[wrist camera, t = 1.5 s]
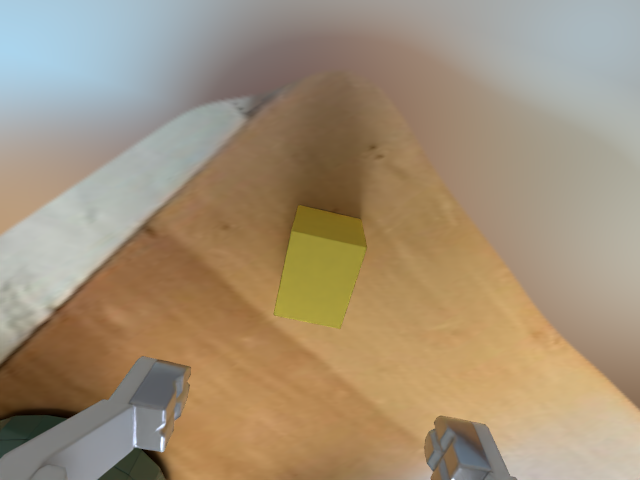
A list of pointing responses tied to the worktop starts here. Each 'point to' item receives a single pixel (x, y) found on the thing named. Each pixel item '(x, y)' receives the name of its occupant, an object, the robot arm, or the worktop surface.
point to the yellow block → (320, 267)
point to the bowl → (3, 436)
